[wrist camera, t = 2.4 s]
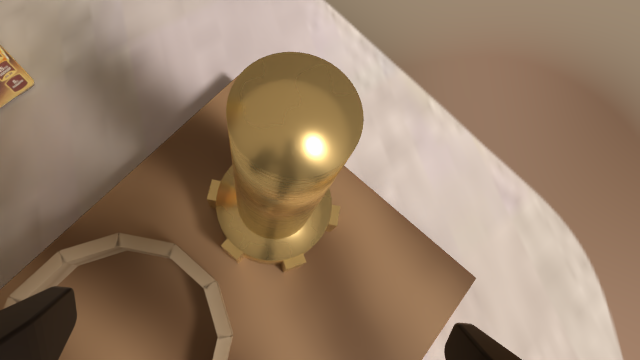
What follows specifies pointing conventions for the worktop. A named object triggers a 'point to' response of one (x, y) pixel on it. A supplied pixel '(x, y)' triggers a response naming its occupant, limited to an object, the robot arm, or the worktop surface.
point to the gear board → (239, 271)
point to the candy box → (12, 78)
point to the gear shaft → (284, 157)
